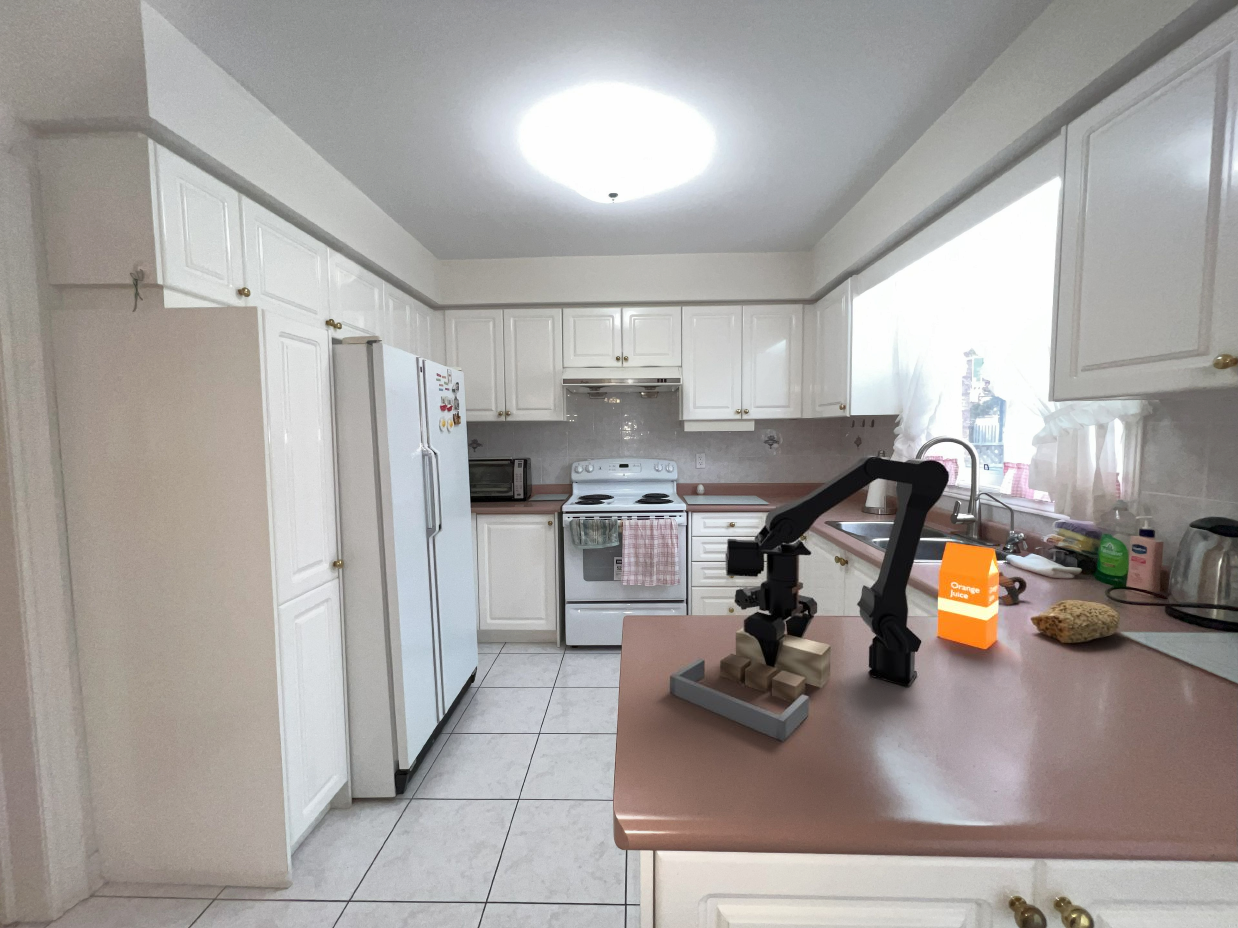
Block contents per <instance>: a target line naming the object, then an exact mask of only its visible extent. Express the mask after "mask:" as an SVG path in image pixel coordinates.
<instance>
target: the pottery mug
mask: <svg viewBox="0 0 1238 928" xmlns="http://www.w3.org/2000/svg"><path fill="white" fill-rule="evenodd" d="M1016 583H1018V587H1016V585H1015V584H1016ZM999 587H1002V588H1004V590H1005V591H1006V592H1007V594H1006V595H1001V596H1000V598H1001V601H1002V603H1003V606H1008V605H1012V604H1018V603H1020V598H1019V597H1020V595H1022V594H1023V593H1024V592H1025V591H1026V589H1027V582H1026V580H1025V579H1024V578H1023V577H1020V576H1013V577H1008V576H1005V575H1004V573H1003V572H1002V571H999Z"/></svg>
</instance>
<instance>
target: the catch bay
mask: <svg viewBox="0 0 1238 928" xmlns="http://www.w3.org/2000/svg"><path fill="white" fill-rule="evenodd" d="M705 665H706V663H705V659H703V658H698V659H695V661H693V662H691V663H690V664H687V665H686V666H685V667H683V668H681V669H679V670H678V671H676V672H674V673H672V674H671V675H669V694H671V695H673V696H676V697H678V698H681V699H683V700H685V701H687V702H690V703H692V704H694V705H697V706H699V707H702V708H704V709H706V710H708V711H711V712H714V713H715V714H718V715H720V716H722V717H725V718H726V719H729V720H732V721H733V722H736V723H740V724H741V725H743V726H746V727H748V728H751V729H752V730H755V731H757V732H759V733H762V734H764V735H766V734H767V736H768V737H772V738H773V737H774V738H773V739H776V740H778V739H779V741H780V740H781V741H780V742H785V740H786V739H788V737H790V735H791V734H792V733H793V732H794V731H795V730H796V729H797V728H798V727H799V726H800V725H801V724H802V723H803V722H804V721H805V720H806V719H807V718H808V717H809V716H808V715H809V710H810V708H809V707H810V706H809V705H810V703H809V702H810V697H809V695H806V694H805V695H803V694H802V695H801V696H800V697H799V698H798V699H797V700H796V701H795V702H794V703H791V705H790V706H788V707H787V708H786V709H785V710H784V711H783V712H782V713H781V714H780V715H779V714H777V713H774V712H772V711H769V710H766V709H765V708H764V709H763V708H762V707H758V706H756V705H754V704H751V703H749V702H746V701H744V700H741V699H739V698H736V697H733V696H731V695H729V694H727V693H724V692H721V691H718V690H717V689H713V688H712V687H708V686H705V685H702V684H701V683H697V682H698V681H699V680H701V679H702V678H704V677H705V673H706V671H705ZM807 716H808V717H807ZM806 717H807V718H806ZM805 718H806V719H805ZM804 719H805V720H804ZM803 720H804V721H803ZM802 721H803V722H802ZM801 722H802V723H801ZM800 723H801V724H800ZM797 726H798V727H797ZM795 728H796V729H795Z"/></svg>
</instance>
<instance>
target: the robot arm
mask: <svg viewBox="0 0 1238 928" xmlns="http://www.w3.org/2000/svg"><path fill="white" fill-rule="evenodd" d="M878 479H879V480H885V481H891V482H896V485H895V486H896V487H895V490H896V498H897V509H896V512H895V517H894V519H893V523H892V527H891V530H890V534H889V538H888V540H887V545H886V547H885V548H886V550H885V552H884V556H883V560H882V563H881V567H880V570H879V573H878V577H877V580H876V581H875V582H874V583H873V584H872V586H871V587H869V586H867V585H862V586H861V587H862V588H861V595H860V599H859V601H858V602H857V603H856V606H857V607H858V608H859V616H860V618H861V619H862V621H863V622H864V623H865V624H866V625H867V626H868V627H869V629H870V630H871V633H873V634H874V635H875V636H874V637H873V638H872V640H871V641H872V642H871V644H870V645H869V646H868V668H869V669H870V670H869V671H868V675H869V676H871V677H874V678H878V679H881V680H885V681H888V682H890V683H893V684H896V685H897V684H898V685H901V686H905V687H909V686H911V684H912V683H913V681H914V680H915V678H916V677H917V675H918V671H917V670H916V669H915V662H916V653H917V652H919V649H920V647H921V644H922V640H921V639H920V638H919V637H918V636H917V635H916V634H915V633H914V632H913V631H912V630H911V629H910V628H909V627H908V617H909V616H908V615H909V607H908V599H907V588H908V587H907V586H908V584H909V579H910V576H911V573H912V569H913V567H914V562H915V559H916V555H917V552H918V549H919V545H920V541H921V539H922V535H923V531H924V528H925V523H926V521H927V516H928V514H929V512H930V511H931V510H932V509H933V508H934V506H935V505H936V504H937V502H939V501H940V499H941V497H942V496H943V494H944V491H945V490H946V487H947V486H948V483H949V480H950V472H949V471H948V469H947V468H946V466H945V465H944V464H943V463H942V462H939V461H937V460H934V459H924V458H911V459H907V460H906V461H900V460H893V459H888V458H887V459H886V458H882V457H880V456H877V455H865V456H862V457H860V459H858V461H857V462H856V463H854V464H852V465H851V466H850V467H848V468H847V469H845V470H843V471H842V472H841V473H839V474H837V475H836V476H834V477H833V478H831V479H830V480H828V481H826V482H825V483H823V484H822V485H820V486H819V487H818V488H816V489H814V490H813V491H811V492H809V494H807V495H806V496H803V497H801V498H799V499H795V500H792V501H790V502H787V503H784V504H781V506H778V507H775V508H773V509H771V510H770V511H769V512H768V513H766V516H765V521H764V525H763V527H762V528H761V529H760V531H759V532H758V533H757V534H756V535H755V537H754V540H752V539H738V538H737V539H736V538H728V539H726V540H727V544H726V545H727V546H726V553H725V575H726V576H727V577H751V578H753V577H754V578H755V577H756V578H757V577H759V575H762V572H764V570H765V555H766V575H765V576H766V578H765V579H766V580H765V581H762V582H761V583H760V586H754V587H749V588H748V587H743V588H738V589H735V594H734V603H735V604H736V606H738V607H739V608H740V610H742V611H743V610H747V609H751V608H758V610H759V611H756V612H754V613H752V614H751V615H749V616H747V617H746V618H745V619H743V627H744V632H746V633H748V634H749V635H751V636H754V637H755V638H756V639H757V640H758V642H759V645H760V647H761V650H762V653H763V656H764V659H765V662H766V665H768V666H771V667H775V664H776V662H777V659H778V656H779V653H780V650H781V648H782V645H783V642H784V639H785V636H784V634H785V631H786V634H787V635H791V636H795V637H799V638H803V639H804V636H805V634H806V632H807V630H808V629H809V626H810V624H811V623H812V621H813V620H814V618H815V615H816V614H817V613H818V603H817V601H816V600H815V599H814V598H813V597H811V596H807V595H806V596H805V595H801V594H800V591H801V590H802V589H804V582H800V556H811V555H812V551H811V550H809V548H808V547H807V546H806V545H805V544H804V542H803V541H802V540H801V538H802V536H803V535H804V534H806V533H807V532H808V531H809V530H810V529H811V527H813V525H814V524H815V522H816V521H817V520H818V519H819V518H820V517H821V516H822V515H823V514H825V513H827V512H828V511H829V510H831V509H834V507H836V506H837V505H839V504H840V503H842V502H844V501H845V500H847V499H848V498H850V497H852V496H853V495H855V494H856V493H857V492H859V491H860V490H862V489H864V488H865V487H866V486H869V485H870V484H872V483H873V482H874V481H876V480H878ZM760 611H764V612H768V613H764V612H760Z"/></svg>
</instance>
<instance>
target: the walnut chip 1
mask: <svg viewBox="0 0 1238 928" xmlns="http://www.w3.org/2000/svg"><path fill="white" fill-rule="evenodd" d="M750 665H751V660H750V659H747V658H744V657H741V656H738V655H736V654H734V653H730V654H728V655H726V656H725V657H723V658H722V659H720V661H719V676H720V677H722V678H723V679H728V680H729V681H732V682H735V683H739V684H741V683H743V682H745V669H746V668H747V667H749V666H750Z"/></svg>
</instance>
